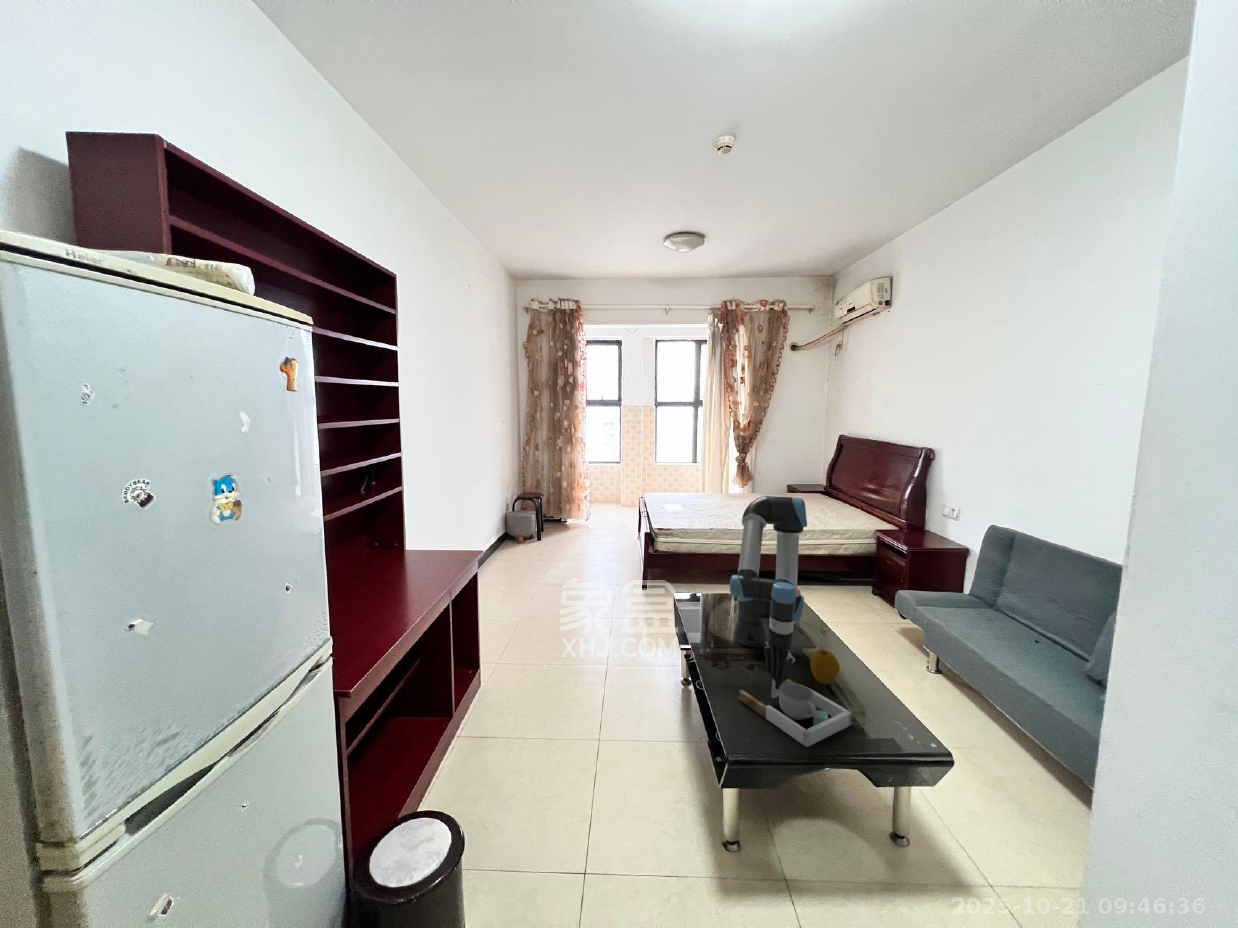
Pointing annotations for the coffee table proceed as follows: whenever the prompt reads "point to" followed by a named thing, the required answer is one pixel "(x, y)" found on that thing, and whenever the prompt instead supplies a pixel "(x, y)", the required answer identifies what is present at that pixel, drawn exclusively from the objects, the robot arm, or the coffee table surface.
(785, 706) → the teacup
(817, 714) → the block
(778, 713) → the grey u-shaped frame
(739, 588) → the robot arm
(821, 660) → the apple
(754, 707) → the slot rails
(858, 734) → the coffee table surface
